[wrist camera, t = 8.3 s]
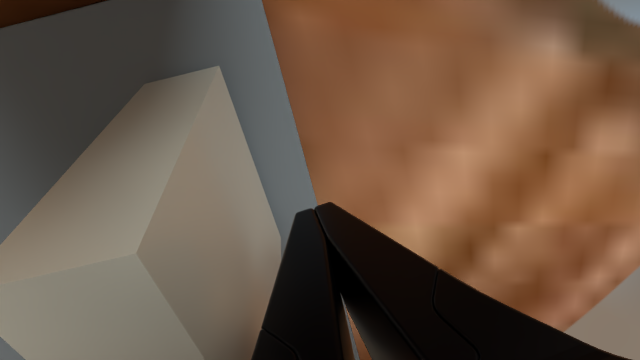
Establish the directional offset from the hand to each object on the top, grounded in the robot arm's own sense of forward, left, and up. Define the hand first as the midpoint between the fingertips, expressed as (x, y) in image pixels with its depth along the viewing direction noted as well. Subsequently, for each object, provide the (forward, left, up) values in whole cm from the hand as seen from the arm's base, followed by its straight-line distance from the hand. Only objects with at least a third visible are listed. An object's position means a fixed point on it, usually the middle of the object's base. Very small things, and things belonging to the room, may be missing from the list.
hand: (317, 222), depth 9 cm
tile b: (0, +2, -4) cm, 4 cm away
